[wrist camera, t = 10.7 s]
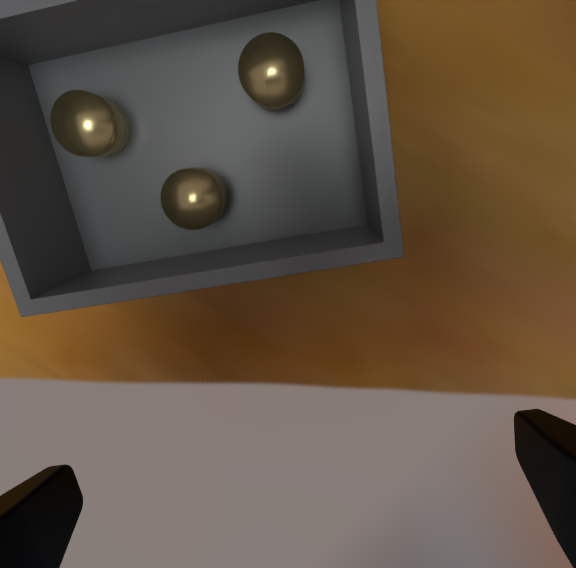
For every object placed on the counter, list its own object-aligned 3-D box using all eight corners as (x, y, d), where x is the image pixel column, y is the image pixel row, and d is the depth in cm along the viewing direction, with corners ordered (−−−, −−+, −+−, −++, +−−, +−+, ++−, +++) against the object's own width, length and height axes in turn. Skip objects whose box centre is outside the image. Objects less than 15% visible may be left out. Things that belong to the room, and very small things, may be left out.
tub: (350, -20, 17) (366, -95, 12) (381, 233, 19) (404, 256, 14) (19, 55, 18) (-88, 16, 13) (89, 281, 21) (21, 317, 16)
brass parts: (299, 39, 17) (298, 25, 15) (324, 203, 18) (325, 207, 17) (64, 90, 18) (37, 82, 16) (108, 241, 19) (88, 248, 18)
